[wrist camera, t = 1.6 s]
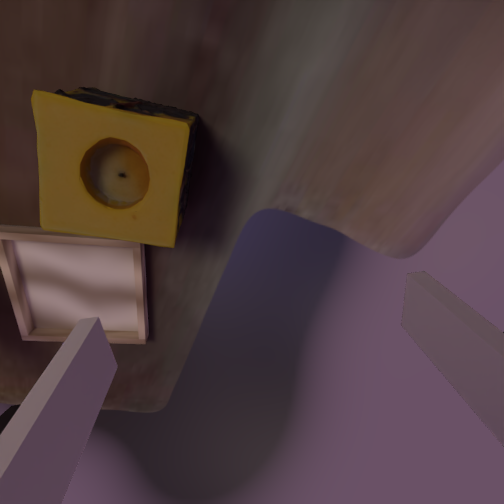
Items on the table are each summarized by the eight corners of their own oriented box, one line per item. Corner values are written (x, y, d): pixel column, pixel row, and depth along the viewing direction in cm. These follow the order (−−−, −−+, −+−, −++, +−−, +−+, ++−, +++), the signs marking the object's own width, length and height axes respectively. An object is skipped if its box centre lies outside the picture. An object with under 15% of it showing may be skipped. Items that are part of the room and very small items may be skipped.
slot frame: (1, 224, 33) (-10, 231, 31) (143, 234, 35) (139, 241, 33) (30, 330, 40) (22, 340, 38) (148, 334, 41) (145, 344, 40)
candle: (88, 193, 32) (36, 233, 23) (86, 85, 28) (22, 84, 19) (187, 211, 34) (174, 254, 25) (201, 112, 29) (190, 122, 21)
